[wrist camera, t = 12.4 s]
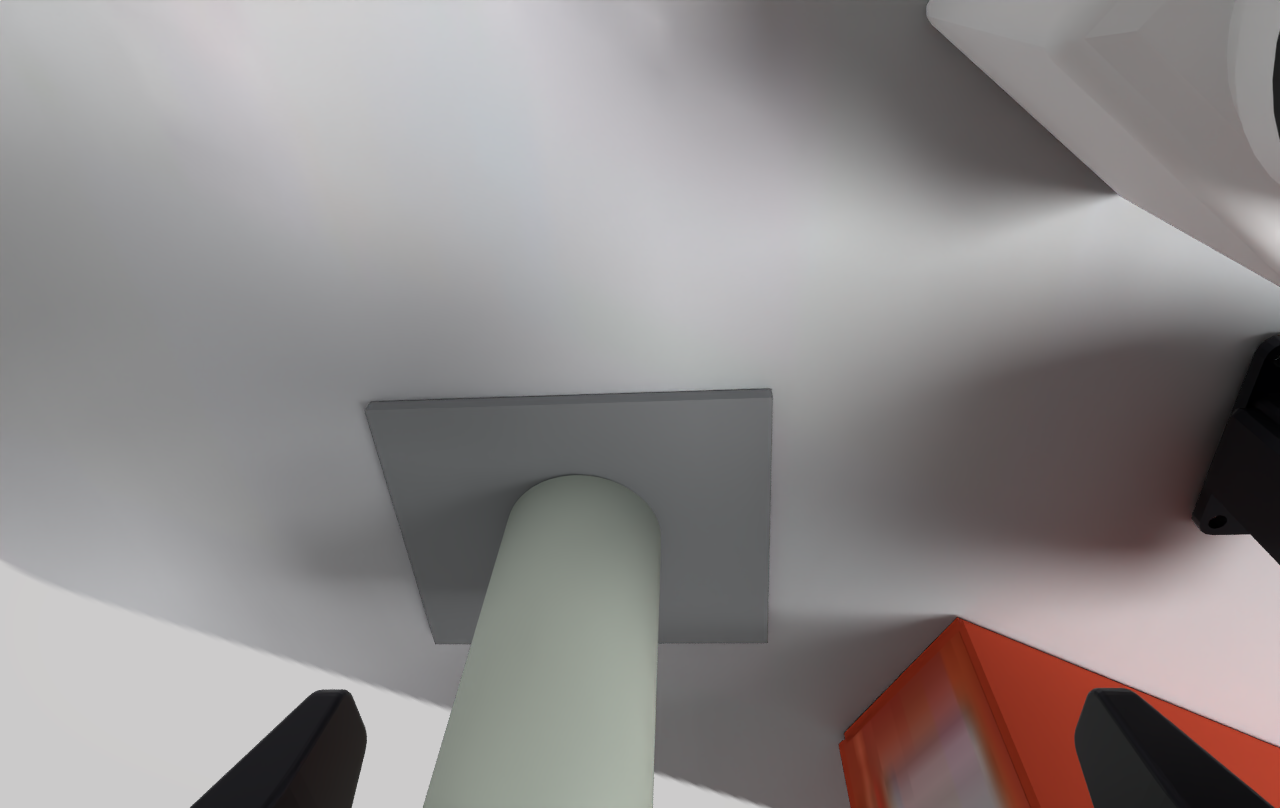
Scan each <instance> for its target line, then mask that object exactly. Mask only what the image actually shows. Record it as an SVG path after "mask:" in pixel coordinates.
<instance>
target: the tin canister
mask: <svg viewBox="0 0 1280 808" xmlns="http://www.w3.org/2000/svg"><path fill="white" fill-rule="evenodd" d="M660 563H661V530H660V526H659V523H658V520H657V518H656V516H655V514H654V513H653V511H652V509H651V508H650V507H649V506H648V504H647V503H646V502H645V501H644V500H643V499H642V498H641V497H640V496H638V495H637V494H636V493H634V492H633V491H631V490H630V489H628V488H626V487H625V486H623V485H621V484H618V483H616V482H613V481H611V480H607V479H604V478H600V477H594V476H586V475H569V476H562V477H557V478H553V479H549V480H547V481H544V482H541V483H539V484H537V485H535V486H534V487H532V488H531V489H529V490H528V491H526V492H525V493H524V494H523V495H522V496H521V497H520V498H519V499H518V500H517V502H516V503H515V504H514V506H513V508H512V510H511V512H510V515H509V518H508V521H507V525H506V528H505V531H504V535H503V538H502V541H501V545H500V548H499V552H498V555H497V558H496V562H495V565H494V569H493V572H492V575H491V579H490V582H489V585H488V589H487V592H486V596H485V599H484V602H483V606H482V609H481V613H480V616H479V619H478V623H477V626H476V629H475V633H474V636H473V640H472V643H471V646H470V650H469V653H468V657H467V660H466V663H465V667H464V670H463V673H462V677H461V680H460V684H459V687H458V690H457V694H456V697H455V700H454V704H453V707H452V711H451V714H450V718H449V721H448V724H447V728H446V731H445V734H444V738H443V741H442V745H441V748H440V751H439V755H438V758H437V761H436V765H435V768H434V772H433V775H432V778H431V782H430V785H429V789H428V792H427V795H426V799H425V802H424V805H423V808H653V782H654V752H655V720H656V689H657V657H658V626H659V595H660Z"/></svg>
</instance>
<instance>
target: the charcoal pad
mask: <svg viewBox="0 0 1280 808" xmlns="http://www.w3.org/2000/svg"><path fill="white" fill-rule="evenodd" d="M772 408H773V396H772V391H771V389H753V390H722V391H691V392H661V393H630V394H599V395H568V396H538V397H507V398H476V399H445V400H414V401H384V402H370V404H369V405H368V407H367V408H366V409H365V413H366V416H367V420H368V423H369V426H370V430H371V433H372V436H373V440H374V443H375V446H376V450H377V453H378V456H379V459H380V463H381V466H382V469H383V473H384V476H385V479H386V483H387V486H388V489H389V493H390V496H391V499H392V503H393V506H394V509H395V512H396V516H397V519H398V522H399V526H400V529H401V532H402V536H403V539H404V542H405V546H406V549H407V552H408V556H409V559H410V562H411V565H412V569H413V572H414V575H415V579H416V582H417V585H418V589H419V592H420V595H421V599H422V602H423V605H424V608H425V612H426V615H427V618H428V622H429V625H430V628H431V632H432V635H433V638H434V642H435V644H471V643H472V640H473V636H474V633H475V629H476V626H477V623H478V619H479V616H480V613H481V609H482V606H483V602H484V599H485V596H486V592H487V589H488V585H489V582H490V579H491V575H492V572H493V569H494V565H495V562H496V558H497V555H498V552H499V548H500V545H501V541H502V538H503V535H504V531H505V528H506V525H507V521H508V518H509V515H510V512H511V510H512V508H513V506H514V504H515V503H516V502H517V500H518V499H519V498H520V497H521V496H522V495H523V494H524V493H525V492H526V491H528V490H529V489H531V488H532V487H534V486H535V485H537V484H539V483H541V482H544V481H547V480H549V479H553V478H557V477H562V476H569V475H586V476H594V477H600V478H604V479H607V480H611V481H613V482H616V483H618V484H621V485H623V486H625V487H626V488H628V489H630V490H631V491H633V492H634V493H636V494H637V495H638V496H640V497H641V498H642V499H643V500H644V501H645V502H646V503H647V504H648V506H649V507H650V508H651V509H652V511H653V513H654V514H655V516H656V518H657V520H658V523H659V526H660V530H661V563H660V595H659V626H658V643H767V638H768V592H769V546H770V500H771V454H772Z"/></svg>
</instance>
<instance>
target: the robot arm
mask: <svg viewBox="0 0 1280 808" xmlns="http://www.w3.org/2000/svg"><path fill="white" fill-rule="evenodd" d="M1279 353H1280V335H1279V336H1273V337H1271V338H1269V339H1267V340H1265V341H1264V342H1263V343H1262V344H1261V345H1259V347H1258V348H1257V350H1256V351H1255V353H1254V356H1253V358H1252V361H1251V364H1250V366H1249V369H1248V371H1247V374H1246V376H1245V379H1244V382H1243V384H1242V387H1241V389H1240V392H1239V395H1238V397H1237V400H1236V402H1235V405H1234V408H1233V410H1232V413H1231V415H1230V417H1229V420H1228V422H1227V425H1226V428H1225V430H1224V433H1223V435H1222V438H1221V441H1220V443H1219V446H1218V448H1217V451H1216V453H1215V456H1214V459H1213V461H1212V464H1211V466H1210V469H1209V472H1208V474H1207V477H1206V479H1205V482H1204V485H1203V488H1202V490H1201V493H1200V495H1199V498H1198V501H1197V503H1196V506H1195V508H1194V511H1193V513H1192V520H1193V522H1194V523H1195V525H1196V526H1197V527H1198V528H1199V529H1200V530H1201V531H1202V532H1203V533H1205V534H1209V535H1239V534H1251V535H1252V536H1253V538H1254V539H1255V540H1256V541H1257V542H1258V543H1259V544H1260V545H1261V546H1262V547H1263V548H1264V549H1265V550H1266V551H1267V552H1268V553H1269V554H1270V555H1271V556H1272V557H1273V558H1274V559H1275V560H1276V561H1277V562H1278V564H1279V565H1280V358H1278V359H1276V360H1274V359H1275V357H1276V356H1277V355H1278V354H1279ZM1215 516H1216V517H1215ZM1213 517H1215V518H1213ZM1212 518H1213V519H1212ZM1074 742H1075V749H1076V753H1077V756H1078V759H1079V762H1080V766H1081V769H1082V772H1083V775H1084V778H1085V781H1086V784H1087V788H1088V791H1089V794H1090V797H1091V800H1092V803H1093V806H1094V808H1275V807H1273V806H1272V805H1271V804H1270V803H1269V802H1267V801H1266V800H1265V799H1264V798H1263V797H1261V796H1260V795H1259V794H1258V793H1257V792H1255V791H1254V790H1253V789H1252V788H1251V787H1249V786H1248V785H1247V784H1246V783H1244V782H1243V781H1242V780H1241V779H1240V778H1238V777H1237V776H1236V775H1235V774H1234V773H1232V772H1231V771H1230V770H1229V769H1228V768H1226V767H1225V766H1224V765H1223V764H1221V763H1220V762H1219V761H1218V760H1217V759H1215V758H1214V757H1213V756H1212V755H1211V754H1209V753H1208V752H1207V751H1206V750H1205V749H1203V748H1202V747H1201V746H1200V745H1198V744H1197V743H1196V742H1195V741H1194V740H1192V739H1191V738H1190V737H1189V736H1188V735H1186V734H1185V733H1184V732H1183V731H1182V730H1180V729H1179V728H1178V727H1177V726H1175V725H1174V724H1173V723H1172V722H1171V721H1169V720H1168V719H1167V718H1166V717H1165V716H1163V715H1162V714H1161V713H1160V712H1159V711H1157V710H1156V709H1155V708H1154V707H1153V706H1151V705H1150V704H1149V703H1148V702H1146V701H1145V700H1144V699H1143V698H1142V697H1140V696H1139V695H1138V694H1136V693H1135V692H1133V691H1131V690H1129V689H1126V688H1094V689H1092V690H1091V691H1090V692H1089V693H1088V695H1087V697H1086V700H1085V703H1084V706H1083V708H1082V711H1081V714H1080V717H1079V720H1078V723H1077V726H1076V729H1075V734H1074ZM366 743H367V735H366V730H365V726H364V724H363V721H362V719H361V716H360V714H359V711H358V709H357V707H356V704H355V701H354V699H353V697H352V695H351V693H349V692H348V691H347V690H318V691H316V692H314V693H312V694H311V695H310V696H309V697H307V698H306V699H305V700H304V701H303V702H302V703H301V704H300V705H299V706H298V707H297V708H296V709H295V710H294V711H292V712H291V713H290V714H289V715H288V716H287V717H286V718H285V719H284V720H283V721H282V722H281V723H280V724H279V725H277V726H276V727H275V728H274V729H273V730H272V731H271V732H270V733H269V734H268V735H267V736H266V737H265V738H264V739H263V740H261V741H260V742H259V743H258V744H257V745H256V746H255V747H254V748H253V749H252V750H251V751H250V752H249V753H248V754H247V755H245V756H244V757H243V758H242V759H241V760H240V761H239V762H238V763H237V764H236V765H235V766H234V767H233V768H232V769H231V770H229V772H227V773H226V774H225V775H224V776H223V777H222V778H221V779H220V780H219V781H218V782H217V783H216V784H215V785H214V786H212V787H211V788H210V789H209V790H208V791H207V792H206V793H205V794H204V795H203V796H202V797H201V798H200V799H199V800H198V801H197V802H195V803H194V804H193V805H192V806H191V807H190V808H352V804H353V799H354V795H355V791H356V787H357V783H358V779H359V775H360V771H361V766H362V762H363V758H364V754H365V749H366Z"/></svg>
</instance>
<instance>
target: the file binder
mask: <svg viewBox="0 0 1280 808" xmlns="http://www.w3.org/2000/svg"><path fill="white" fill-rule="evenodd" d="M1094 688H1126V689H1129V690H1131V691H1133V692H1135V693H1136V694H1138V695H1139V696H1140V697H1142V698H1143V699H1144V700H1145V701H1146V702H1148V703H1149V704H1150V705H1151V706H1153V707H1154V708H1155V709H1156V710H1157V711H1159V712H1160V713H1161V714H1162V715H1163V716H1165V717H1166V718H1167V719H1168V720H1169V721H1171V722H1172V723H1173V724H1174V725H1175V726H1177V727H1178V728H1179V729H1180V730H1182V731H1183V732H1184V733H1185V734H1186V735H1188V736H1189V737H1190V738H1191V739H1192V740H1194V741H1195V742H1196V743H1197V744H1198V745H1200V746H1201V747H1202V748H1203V749H1205V750H1206V751H1207V752H1208V753H1209V754H1211V755H1212V756H1213V757H1214V758H1215V759H1217V760H1218V761H1219V762H1220V763H1221V764H1223V765H1224V766H1225V767H1226V768H1228V769H1229V770H1230V771H1231V772H1232V773H1234V774H1235V775H1236V776H1237V777H1238V778H1240V779H1241V780H1242V781H1243V782H1244V783H1246V784H1247V785H1248V786H1249V787H1251V788H1252V789H1253V790H1254V791H1255V792H1257V793H1258V794H1259V795H1260V796H1261V797H1263V798H1264V799H1265V800H1266V801H1267V802H1269V803H1270V804H1271V805H1272V806H1273V807H1275V808H1280V748H1279V747H1276V746H1274V745H1271V744H1269V743H1266V742H1264V741H1261V740H1259V739H1256V738H1254V737H1251V736H1249V735H1246V734H1244V733H1241V732H1239V731H1237V730H1234V729H1232V728H1229V727H1227V726H1224V725H1222V724H1219V723H1217V722H1214V721H1212V720H1209V719H1207V718H1204V717H1202V716H1200V715H1197V714H1195V713H1192V712H1190V711H1187V710H1185V709H1182V708H1180V707H1177V706H1175V705H1172V704H1170V703H1167V702H1165V701H1162V700H1160V699H1158V698H1155V697H1153V696H1150V695H1148V694H1145V693H1143V692H1140V691H1138V690H1135V689H1133V688H1130V687H1128V686H1125V685H1123V684H1121V683H1118V682H1116V681H1113V680H1111V679H1108V678H1106V677H1103V676H1101V675H1098V674H1096V673H1093V672H1091V671H1088V670H1086V669H1084V668H1081V667H1079V666H1076V665H1074V664H1071V663H1069V662H1066V661H1064V660H1061V659H1059V658H1056V657H1054V656H1051V655H1049V654H1046V653H1044V652H1042V651H1039V650H1037V649H1034V648H1032V647H1029V646H1027V645H1024V644H1022V643H1019V642H1017V641H1014V640H1012V639H1009V638H1007V637H1005V636H1002V635H1000V634H997V633H995V632H992V631H990V630H987V629H985V628H982V627H980V626H977V625H975V624H972V623H970V622H967V621H965V620H963V619H960V618H958V617H957V618H956V619H955V620H954V621H953V622H952V623H951V624H950V625H949V626H948V627H947V628H946V629H945V630H944V631H943V632H942V633H941V634H940V635H939V636H938V637H937V639H936V640H935V641H934V642H933V643H932V644H931V645H930V646H929V647H928V648H927V649H926V650H925V651H924V652H923V653H922V654H921V655H920V656H919V657H918V658H917V659H916V660H915V661H914V662H913V663H912V664H911V665H910V666H909V667H908V668H907V669H906V670H905V671H904V672H903V673H902V674H901V675H900V676H899V677H898V678H897V679H896V680H895V681H894V683H893V684H892V685H891V686H890V687H889V688H888V689H887V690H886V691H885V692H884V693H883V694H882V695H881V696H880V697H879V698H878V699H877V700H876V701H875V702H874V703H873V704H872V705H871V706H870V707H869V708H868V709H867V710H866V711H865V712H864V713H863V714H862V715H861V716H860V717H859V718H858V719H857V720H856V721H855V722H854V723H853V724H852V726H851V727H850V728H849V729H848V730H847V731H846V732H845V733H844V735H845V739H844V740H842V741H841V742H840V743H839V749H840V755H841V760H842V765H843V770H844V775H845V781H846V786H847V791H848V796H849V801H850V806H851V808H1094V806H1093V803H1092V800H1091V797H1090V794H1089V791H1088V788H1087V784H1086V781H1085V778H1084V775H1083V772H1082V769H1081V766H1080V762H1079V759H1078V756H1077V753H1076V749H1075V742H1074V734H1075V729H1076V726H1077V723H1078V720H1079V717H1080V714H1081V711H1082V708H1083V706H1084V703H1085V700H1086V697H1087V695H1088V693H1089V692H1090V691H1091V690H1092V689H1094Z"/></svg>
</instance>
